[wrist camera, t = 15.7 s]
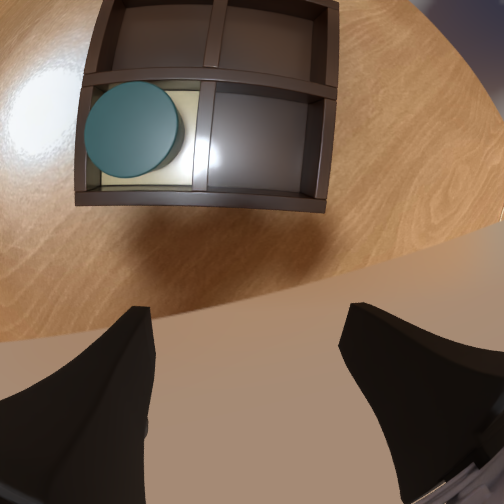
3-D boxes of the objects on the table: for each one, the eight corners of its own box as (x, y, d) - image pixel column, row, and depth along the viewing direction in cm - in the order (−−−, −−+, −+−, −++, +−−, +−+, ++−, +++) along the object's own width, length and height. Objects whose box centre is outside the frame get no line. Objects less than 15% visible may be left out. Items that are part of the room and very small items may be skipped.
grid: (306, 204, 18) (325, 213, 15) (93, 197, 15) (74, 206, 12) (321, 18, 13) (339, 2, 10) (119, 4, 10) (108, -16, 8)
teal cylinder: (182, 172, 15) (174, 178, 11) (111, 172, 14) (81, 180, 10) (188, 99, 14) (183, 79, 10) (116, 101, 13) (88, 85, 9)
